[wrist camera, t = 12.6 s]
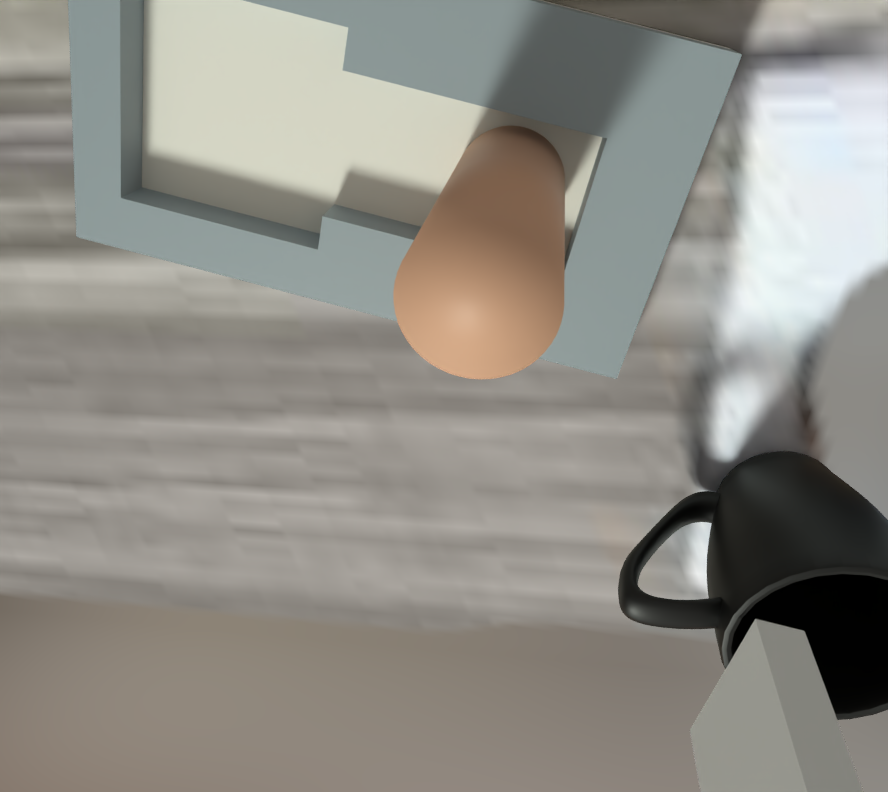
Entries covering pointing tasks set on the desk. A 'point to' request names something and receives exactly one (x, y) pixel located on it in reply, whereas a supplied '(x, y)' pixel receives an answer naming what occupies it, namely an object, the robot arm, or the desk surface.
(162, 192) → the keyhole board
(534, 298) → the peg
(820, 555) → the mug
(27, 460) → the desk surface
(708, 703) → the robot arm
